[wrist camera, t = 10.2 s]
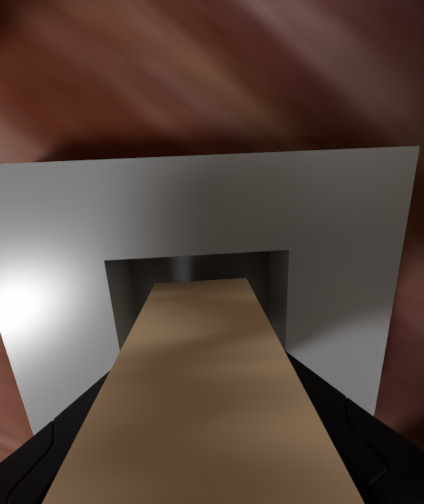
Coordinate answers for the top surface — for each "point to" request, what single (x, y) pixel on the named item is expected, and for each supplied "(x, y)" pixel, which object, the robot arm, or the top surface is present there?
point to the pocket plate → (200, 257)
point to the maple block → (202, 413)
